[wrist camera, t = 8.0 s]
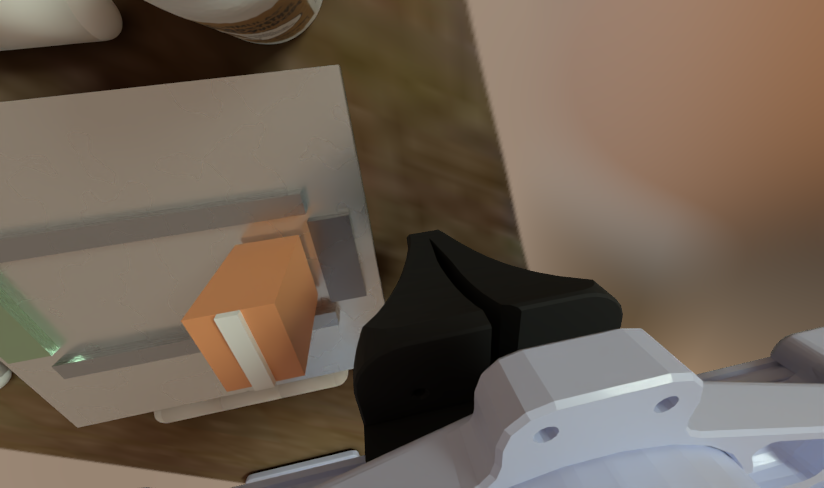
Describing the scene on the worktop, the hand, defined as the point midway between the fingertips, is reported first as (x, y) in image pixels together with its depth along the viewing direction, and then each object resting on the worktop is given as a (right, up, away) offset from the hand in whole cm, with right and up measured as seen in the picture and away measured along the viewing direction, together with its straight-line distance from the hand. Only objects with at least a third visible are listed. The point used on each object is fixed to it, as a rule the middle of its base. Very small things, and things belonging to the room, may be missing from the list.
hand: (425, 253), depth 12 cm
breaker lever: (-6, -1, 0) cm, 6 cm away
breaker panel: (-10, -1, +1) cm, 10 cm away
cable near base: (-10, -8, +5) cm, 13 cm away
